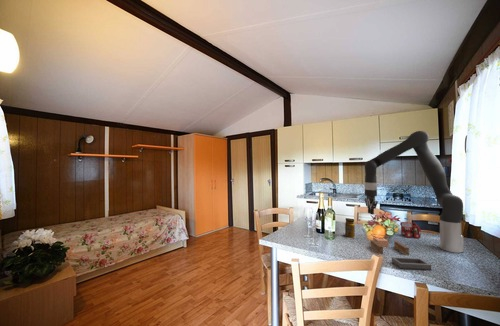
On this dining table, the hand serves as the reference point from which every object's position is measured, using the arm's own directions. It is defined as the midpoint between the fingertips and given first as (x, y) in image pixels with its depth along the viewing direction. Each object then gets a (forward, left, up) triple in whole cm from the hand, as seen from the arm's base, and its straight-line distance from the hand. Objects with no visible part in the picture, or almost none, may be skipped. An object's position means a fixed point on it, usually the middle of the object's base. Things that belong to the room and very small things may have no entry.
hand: (370, 213), depth 142 cm
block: (0, +12, -17) cm, 21 cm away
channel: (0, +21, -17) cm, 27 cm away
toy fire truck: (-30, -6, -17) cm, 35 cm away
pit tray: (0, +40, -17) cm, 43 cm away
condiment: (+14, -2, -17) cm, 22 cm away
